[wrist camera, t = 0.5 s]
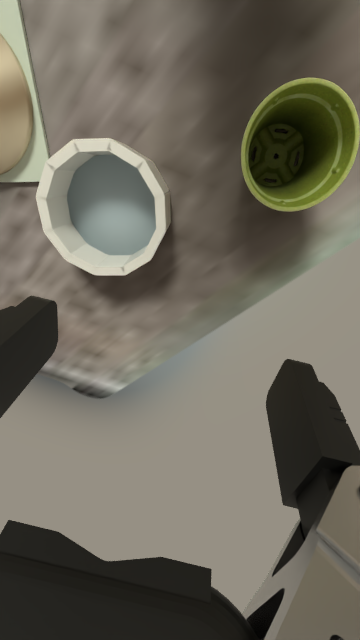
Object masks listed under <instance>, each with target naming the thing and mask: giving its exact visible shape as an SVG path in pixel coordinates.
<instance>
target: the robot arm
mask: <svg viewBox="0 0 360 640" xmlns="http://www.w3.org/2000/svg"><path fill="white" fill-rule="evenodd" d="M57 342H58V319H57V304H56V302H55V301H52V300H48V299H44V298H40V297H36V296H29V297H28V298H27V299H25V300H24V301H23V302H21V303H20V304H19V305H17V306H16V307H14V306H10V307H8V308H5V309H2V310H0V418H1V417H2V415H3V414H4V413H5V412H6V411H7V409H8V408H9V407H10V406H11V404H12V403H13V402H14V401H15V400H16V398H17V397H18V396H19V395H20V393H21V392H22V391H23V390H24V389H25V387H26V386H27V385H28V384H29V382H30V381H31V380H32V379H33V378H34V376H35V375H36V374H37V373H38V372H39V370H40V369H41V368H42V367H43V365H44V364H45V363H46V362H47V361H48V359H49V358H50V357H51V356H52V354H53V353H54V351H55V349H56V346H57ZM266 409H267V414H268V421H269V426H270V432H271V438H272V444H273V450H274V456H275V461H276V467H277V473H278V479H279V485H280V490H281V496H282V502H283V505H285V506H289V507H293V508H297V509H298V510H299V514H300V519H299V520H298V522H297V523H296V524H295V526H294V528H293V530H292V532H291V534H290V535H289V537H288V539H287V541H286V543H285V544H284V546H283V548H282V550H281V552H280V553H279V555H278V557H277V559H276V561H275V563H274V564H273V566H272V568H271V570H270V572H269V573H268V575H267V577H266V579H265V580H264V582H263V583H262V585H261V587H260V588H259V589H258V591H257V592H256V593H255V595H254V596H253V598H252V599H251V600H250V602H249V603H248V605H247V607H246V608H245V610H244V612H243V613H242V614H241V612H240V611H239V610H238V609H237V608H236V607H235V606H234V605H233V604H232V603H231V602H230V601H229V600H228V599H227V598H226V597H225V596H224V595H222V594H221V593H220V592H219V591H218V590H216V589H214V588H213V587H211V569H209V568H205V567H201V566H197V565H192V564H188V563H184V562H180V561H176V560H172V559H168V558H163V557H156V558H145V559H133V560H122V561H109V562H108V561H104V560H102V559H100V558H98V557H96V556H95V555H93V554H92V553H90V552H89V551H87V550H86V549H84V548H83V547H81V546H79V545H78V544H76V543H75V542H73V541H72V540H70V539H69V538H67V537H65V536H64V535H62V534H61V533H59V532H56V531H52V530H48V529H44V528H40V527H36V526H32V525H28V524H24V523H20V522H16V521H11V520H8V522H7V524H6V525H5V527H4V529H3V531H2V532H1V534H0V640H360V450H359V448H358V445H357V443H356V441H355V439H354V437H353V435H352V432H351V430H350V428H349V426H348V424H346V419H345V417H344V415H343V413H342V412H341V408H340V406H339V404H338V402H337V400H336V397H335V396H334V394H333V393H332V392H331V391H330V390H329V389H328V387H327V386H326V385H325V384H324V383H322V382H319V381H318V379H317V376H316V374H315V372H314V369H313V367H312V365H310V364H307V363H303V362H299V361H294V360H291V359H287V360H285V361H284V363H283V365H282V367H281V369H280V370H279V372H278V374H277V376H276V378H275V380H274V382H273V384H272V386H271V387H270V390H269V392H268V395H267V400H266Z"/></svg>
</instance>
